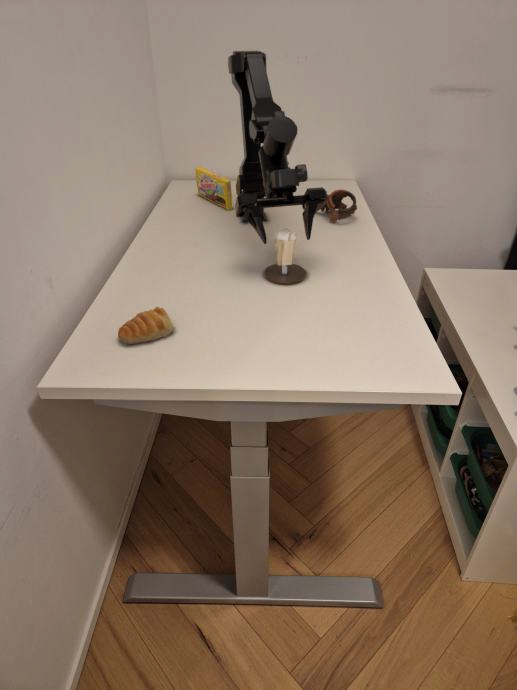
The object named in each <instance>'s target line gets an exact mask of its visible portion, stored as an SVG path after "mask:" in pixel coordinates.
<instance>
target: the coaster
mask: <svg viewBox="0 0 517 690" xmlns="http://www.w3.org/2000/svg"><path fill="white" fill-rule="evenodd" d="M263 275H264V278H265V279H266V280H267V281H269V282H270V283H272V284H276V285H282V286H290V285H295V284H299V283H301V282H303V281H304V280H305V279H306V278H307V271H306V269H305V268H304V267H302V266H301V265H298V264H296V263H293V267H292V271H291V273H289V274H281V273H278V271H277V264H276V263H274V264H271V265H269V266H267V267H265V270H264V274H263Z"/></svg>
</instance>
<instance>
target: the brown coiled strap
mask: <svg viewBox="0 0 517 690" xmlns="http://www.w3.org/2000/svg"><path fill="white" fill-rule="evenodd" d="M327 196H328V199H327V201H326V203H325V204H324V206H323V207H322V209H321V210H320V212H321V213H324V212H326V213H328V212H330V213H331V215H330V217H329V221H330V222H332V223H333V224H334V223H336V222H337V220H338V221H341V220H345V219H349V218H350V217H352V215H354V214H355V212H356V211H357V210H358V206H357V198H356V196H355V195H354V193H352V192H350V191H349V190H347V189H335V190H333V191H332V192H331V193H330V194H327ZM347 197H349V198H350V200H351V201H352V205H351V206H349V207H348V205H347V204H345V203H344V202H343V200H344V198H347Z"/></svg>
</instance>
